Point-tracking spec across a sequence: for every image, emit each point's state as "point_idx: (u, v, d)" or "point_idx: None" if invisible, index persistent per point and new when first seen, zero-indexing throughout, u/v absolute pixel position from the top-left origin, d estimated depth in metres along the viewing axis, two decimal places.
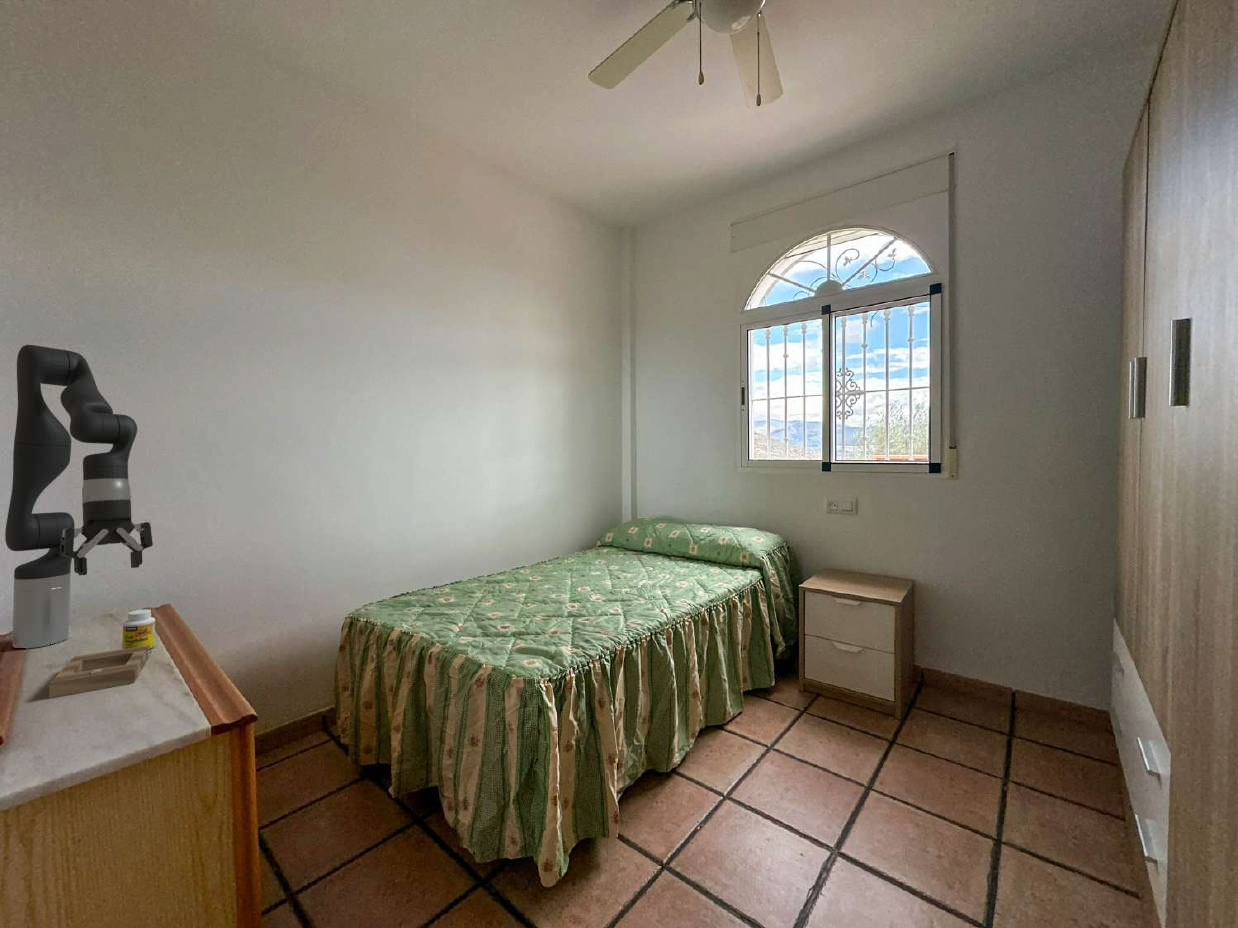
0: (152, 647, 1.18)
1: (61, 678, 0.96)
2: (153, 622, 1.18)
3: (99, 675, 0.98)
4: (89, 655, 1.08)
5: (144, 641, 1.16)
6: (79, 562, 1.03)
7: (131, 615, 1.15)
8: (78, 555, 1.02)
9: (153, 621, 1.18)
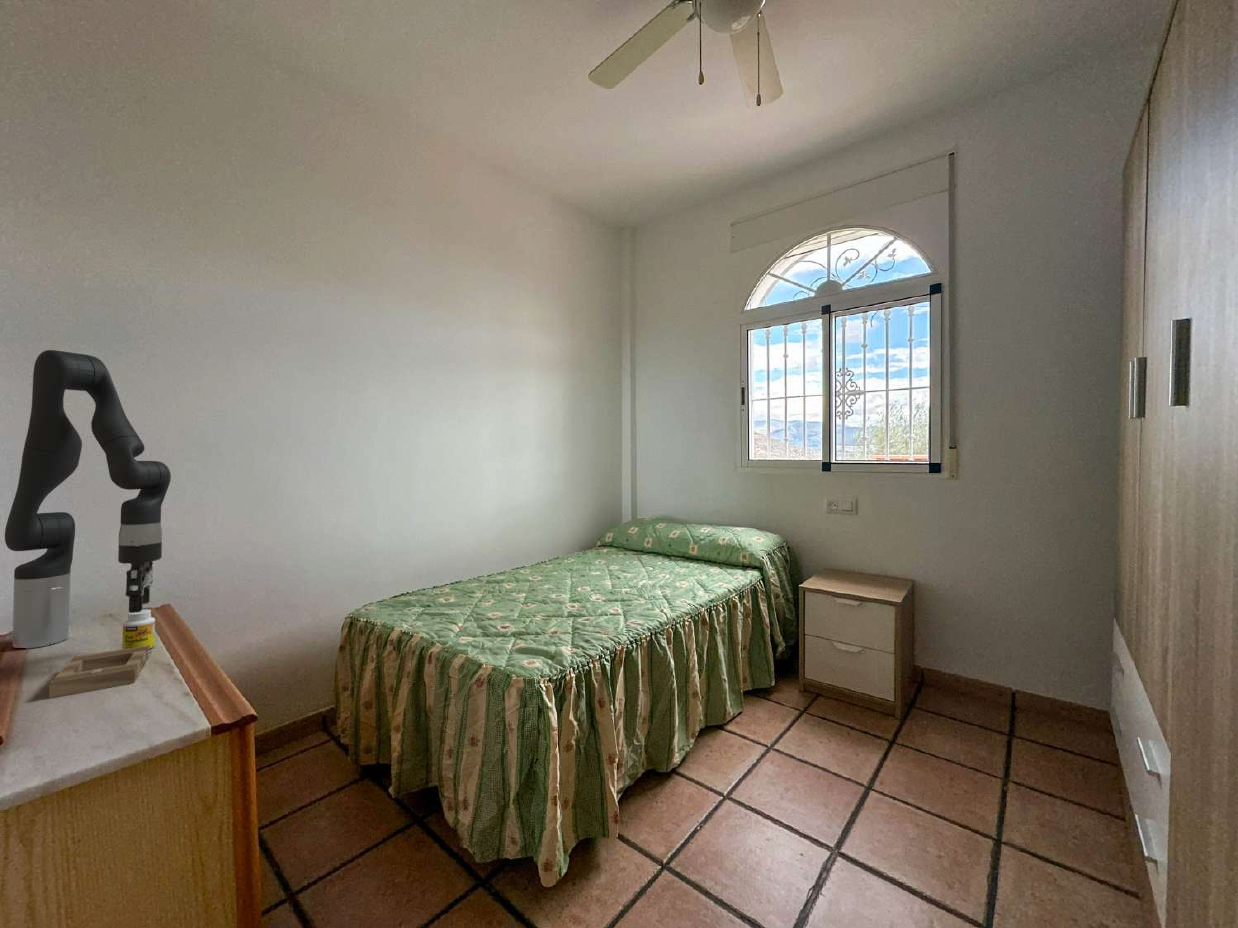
0: (152, 647, 1.18)
1: (61, 678, 0.96)
2: (153, 622, 1.18)
3: (99, 675, 0.98)
4: (89, 655, 1.08)
5: (144, 641, 1.16)
6: (139, 600, 1.13)
7: (131, 615, 1.15)
8: (142, 593, 1.13)
9: (153, 621, 1.18)
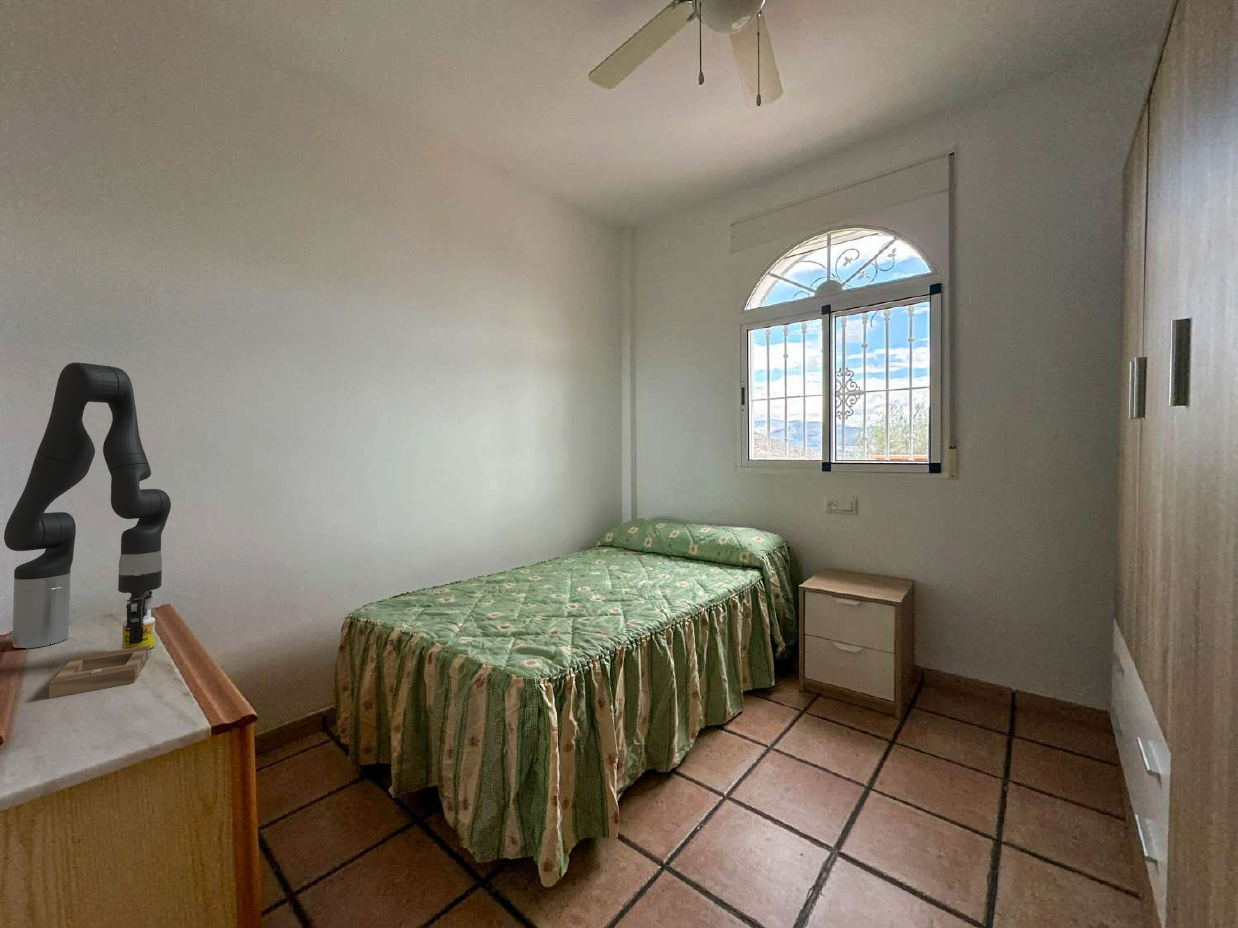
0: (152, 647, 1.18)
1: (61, 678, 0.96)
2: (153, 622, 1.18)
3: (99, 675, 0.98)
4: (89, 655, 1.08)
5: (144, 641, 1.16)
6: (140, 631, 1.14)
7: None
8: (142, 625, 1.14)
9: (153, 621, 1.18)
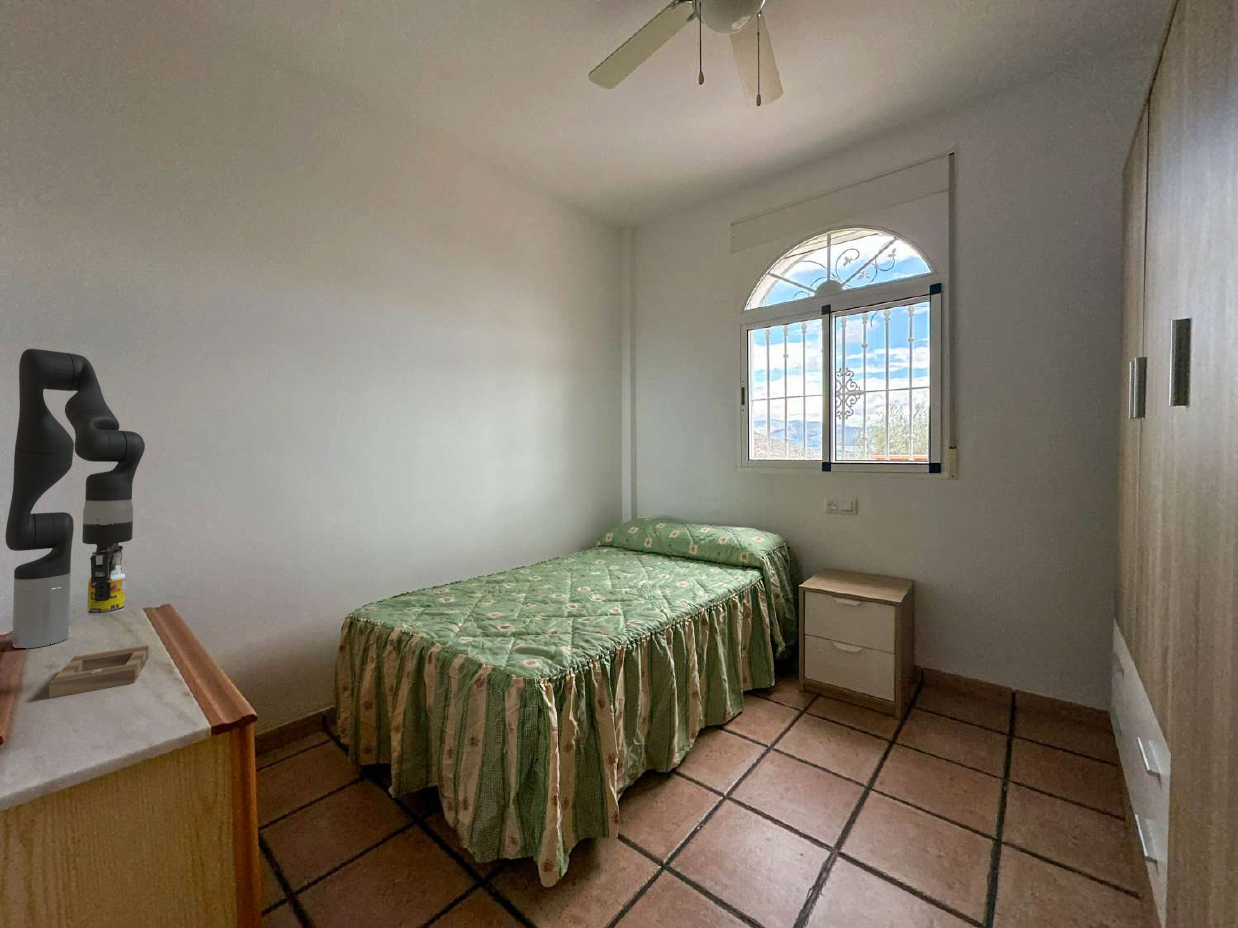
0: (122, 606, 1.05)
1: (61, 678, 0.96)
2: (123, 579, 1.05)
3: (99, 675, 0.98)
4: (89, 655, 1.08)
5: (112, 599, 1.03)
6: (106, 587, 1.02)
7: None
8: (110, 580, 1.02)
9: (123, 577, 1.05)
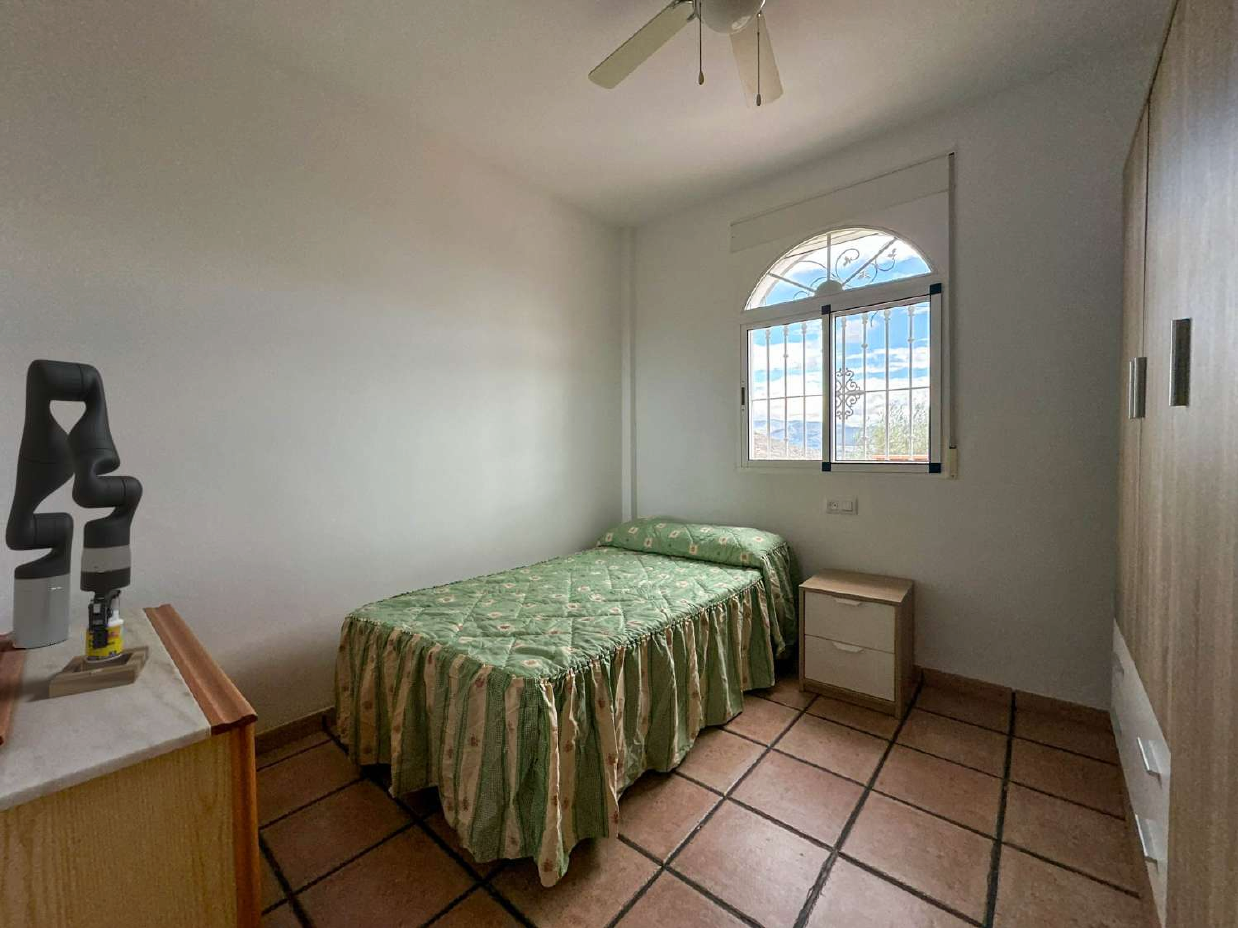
0: (120, 652, 1.05)
1: (61, 678, 0.96)
2: (121, 624, 1.05)
3: (99, 675, 0.98)
4: None
5: (110, 646, 1.03)
6: (104, 634, 1.02)
7: None
8: (107, 627, 1.02)
9: (121, 623, 1.05)
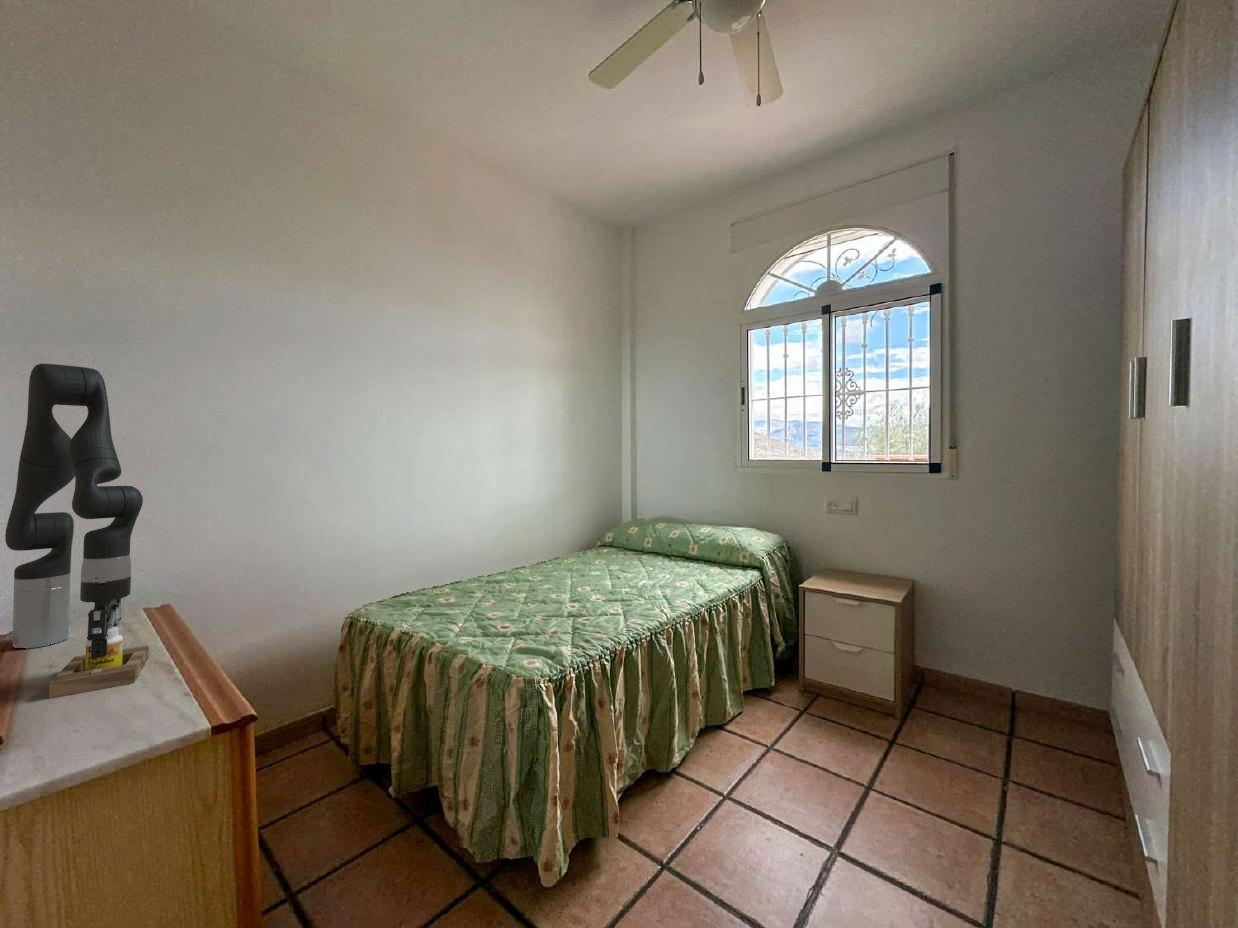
0: None
1: (61, 678, 0.96)
2: (120, 641, 1.05)
3: (99, 675, 0.98)
4: None
5: (110, 663, 1.03)
6: (103, 644, 1.01)
7: None
8: (106, 636, 1.01)
9: (120, 640, 1.05)
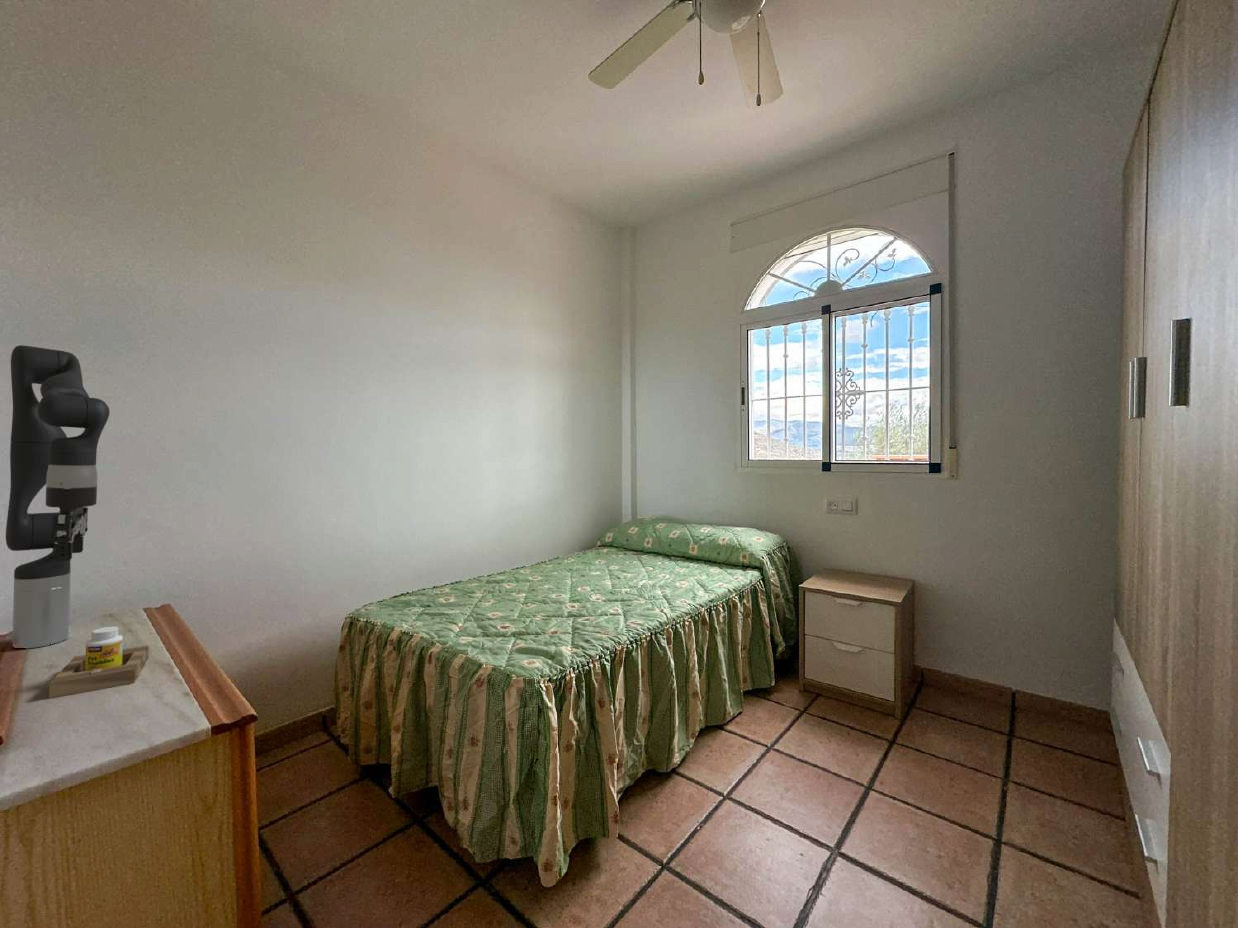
0: None
1: (61, 678, 0.96)
2: (120, 641, 1.05)
3: (99, 675, 0.98)
4: None
5: (110, 663, 1.03)
6: (68, 548, 1.04)
7: (95, 634, 1.02)
8: (71, 541, 1.04)
9: (120, 640, 1.05)
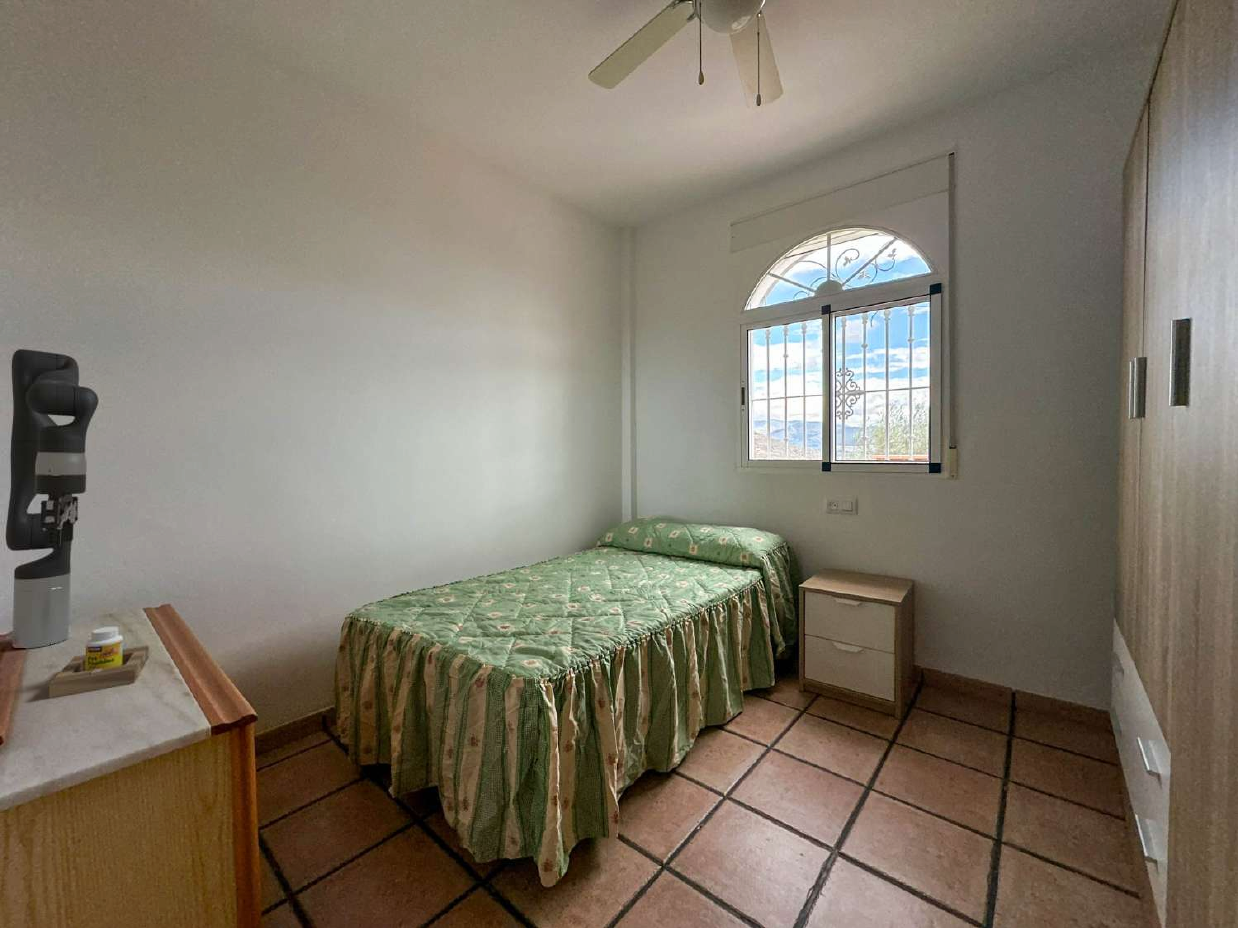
0: None
1: (61, 678, 0.96)
2: (120, 641, 1.05)
3: (99, 675, 0.98)
4: None
5: (110, 663, 1.03)
6: (56, 534, 1.04)
7: (95, 634, 1.02)
8: (60, 527, 1.04)
9: (120, 640, 1.05)
